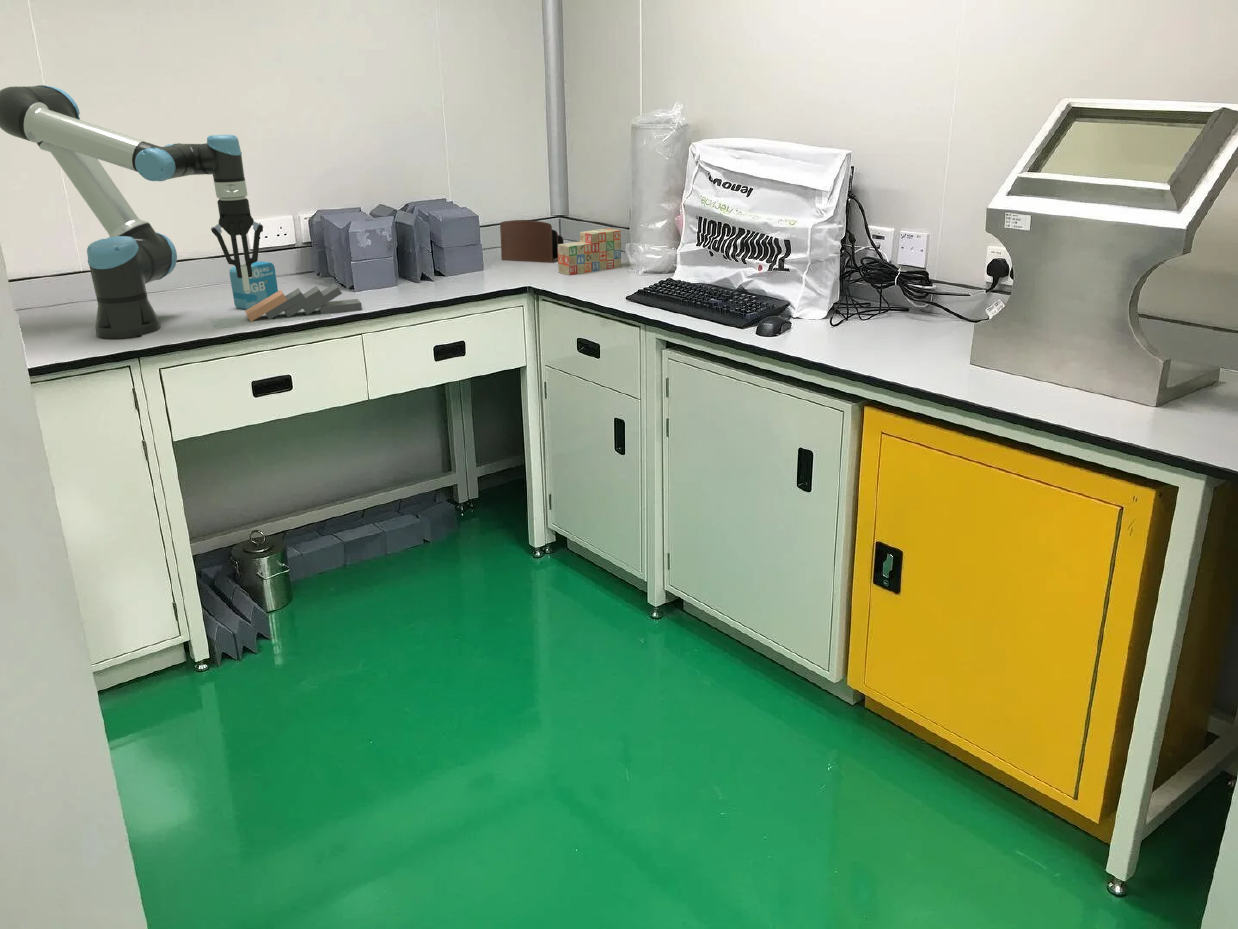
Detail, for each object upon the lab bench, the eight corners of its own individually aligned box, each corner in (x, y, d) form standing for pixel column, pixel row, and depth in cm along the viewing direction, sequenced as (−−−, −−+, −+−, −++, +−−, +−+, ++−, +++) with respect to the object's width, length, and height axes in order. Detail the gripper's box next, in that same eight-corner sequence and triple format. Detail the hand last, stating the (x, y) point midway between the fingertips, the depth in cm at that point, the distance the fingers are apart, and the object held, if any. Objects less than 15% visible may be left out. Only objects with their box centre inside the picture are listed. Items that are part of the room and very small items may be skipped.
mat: (213, 330, 254) (213, 329, 254) (211, 320, 264) (211, 319, 264) (332, 317, 265) (332, 316, 265) (325, 309, 275) (325, 307, 275)
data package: (245, 311, 274) (238, 268, 270) (235, 309, 277) (227, 267, 272) (280, 303, 284) (274, 261, 279) (270, 301, 286) (263, 260, 281)
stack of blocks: (569, 275, 314) (568, 236, 310) (558, 273, 319) (556, 234, 314) (621, 267, 327) (620, 229, 322) (610, 264, 331) (609, 227, 327)
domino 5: (320, 306, 267) (361, 302, 271) (317, 302, 272) (357, 298, 276) (321, 314, 267) (362, 309, 271) (318, 309, 272) (358, 305, 276)
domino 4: (302, 308, 265) (338, 287, 267) (300, 304, 270) (334, 283, 272) (307, 314, 266) (342, 293, 268) (304, 310, 271) (338, 289, 273)
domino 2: (265, 313, 261) (301, 291, 263) (262, 308, 267) (298, 287, 268) (269, 319, 262) (305, 298, 264) (267, 315, 268) (302, 294, 269)
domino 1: (246, 315, 260) (283, 293, 262) (244, 310, 265) (280, 289, 267) (251, 321, 261) (287, 300, 263) (249, 317, 266) (285, 295, 268)
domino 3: (284, 311, 263) (319, 289, 265) (281, 307, 268) (316, 285, 270) (288, 317, 264) (323, 295, 266) (285, 313, 269) (320, 291, 271)
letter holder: (552, 263, 336) (550, 221, 331) (501, 260, 343) (498, 219, 338) (564, 258, 345) (563, 217, 339) (514, 255, 351) (511, 215, 346)
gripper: (205, 201, 246) (221, 295, 255) (260, 198, 251) (274, 290, 260) (204, 198, 253) (220, 289, 261) (257, 195, 257) (271, 285, 266)
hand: (247, 289), depth 260 cm, fingers closed
